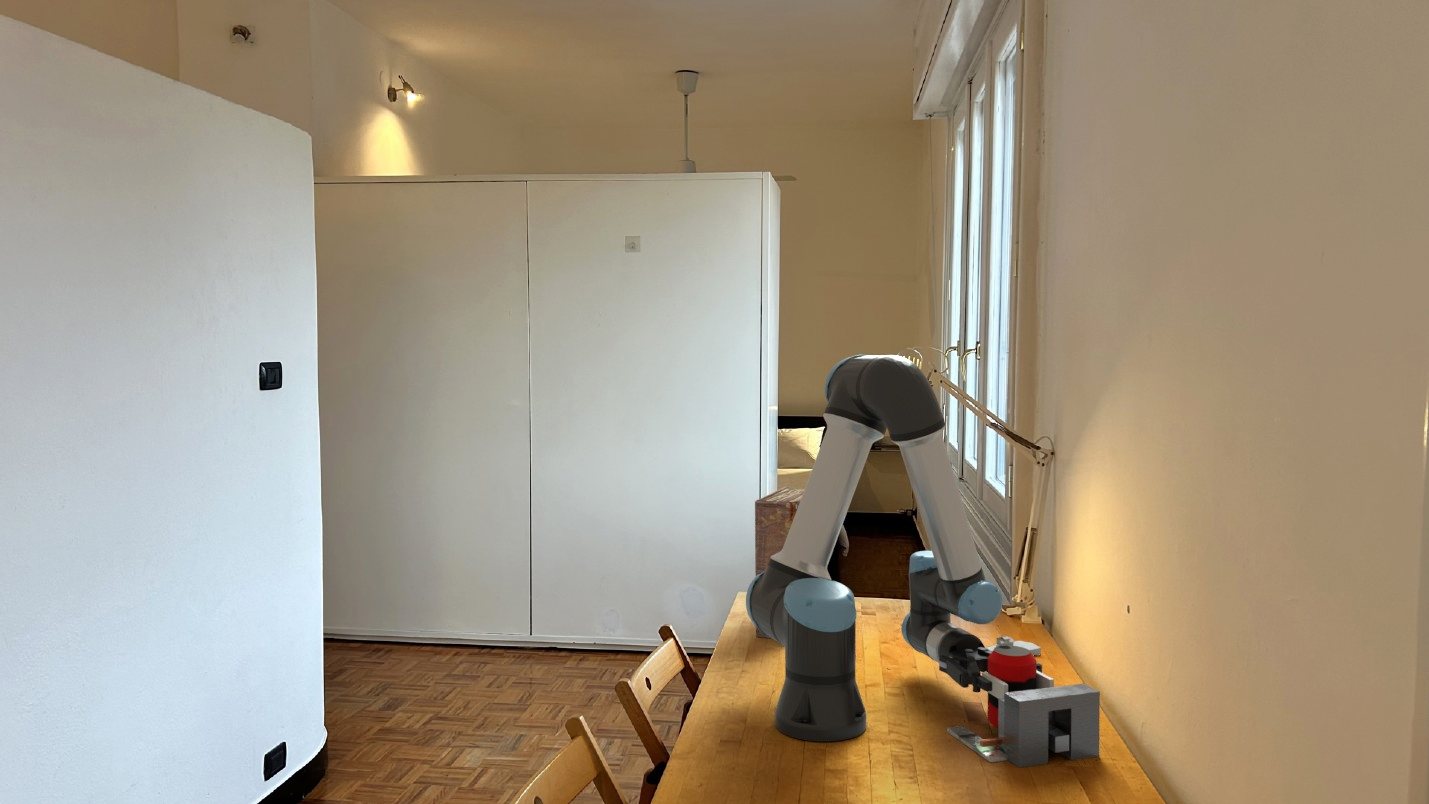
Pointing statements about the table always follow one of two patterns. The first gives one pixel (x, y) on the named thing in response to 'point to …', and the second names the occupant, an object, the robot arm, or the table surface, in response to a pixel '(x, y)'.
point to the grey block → (1056, 737)
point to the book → (773, 526)
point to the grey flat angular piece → (1010, 642)
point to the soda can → (1010, 673)
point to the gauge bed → (1042, 725)
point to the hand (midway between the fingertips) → (1028, 690)
